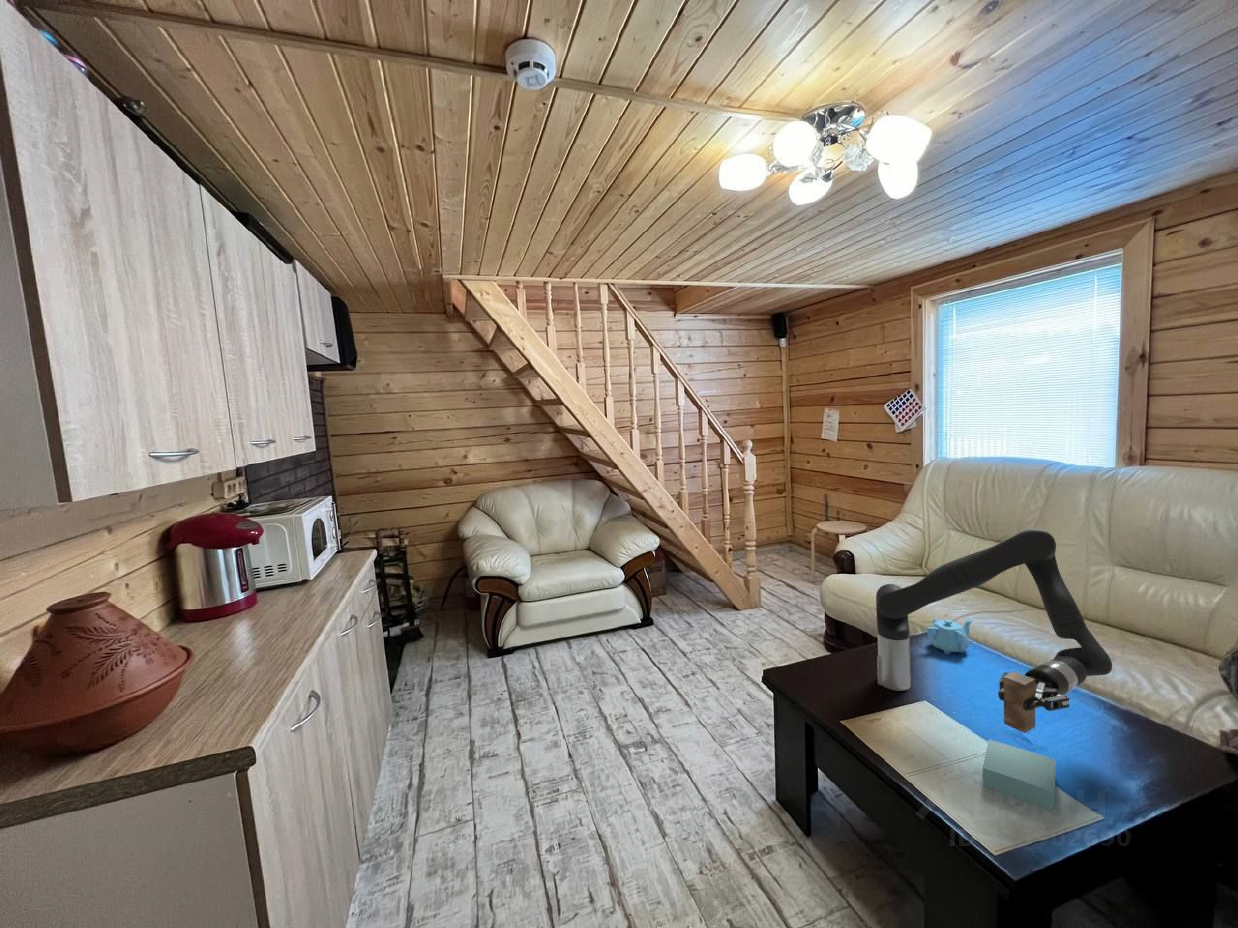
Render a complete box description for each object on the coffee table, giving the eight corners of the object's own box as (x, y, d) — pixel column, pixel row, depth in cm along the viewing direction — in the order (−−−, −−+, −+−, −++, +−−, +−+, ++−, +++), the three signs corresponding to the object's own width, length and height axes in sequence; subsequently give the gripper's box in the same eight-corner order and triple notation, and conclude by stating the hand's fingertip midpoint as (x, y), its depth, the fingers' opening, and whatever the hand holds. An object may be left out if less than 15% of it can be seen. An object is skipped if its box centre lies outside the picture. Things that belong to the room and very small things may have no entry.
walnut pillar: (1003, 723, 120) (1003, 676, 119) (1014, 717, 122) (1013, 671, 121) (1025, 733, 116) (1024, 684, 115) (1035, 726, 118) (1035, 679, 117)
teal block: (982, 786, 120) (982, 767, 119) (989, 757, 129) (989, 739, 129) (1054, 812, 111) (1054, 791, 111) (1055, 778, 121) (1055, 759, 120)
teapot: (924, 651, 185) (923, 623, 184) (934, 635, 195) (934, 609, 194) (965, 661, 176) (964, 632, 175) (973, 644, 186) (973, 616, 185)
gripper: (1018, 654, 130) (979, 673, 123) (1087, 678, 117) (1049, 700, 110) (1018, 681, 131) (980, 701, 124) (1087, 708, 118) (1049, 732, 111)
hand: (1013, 701), depth 117 cm, fingers closed on walnut pillar, 4 cm apart
